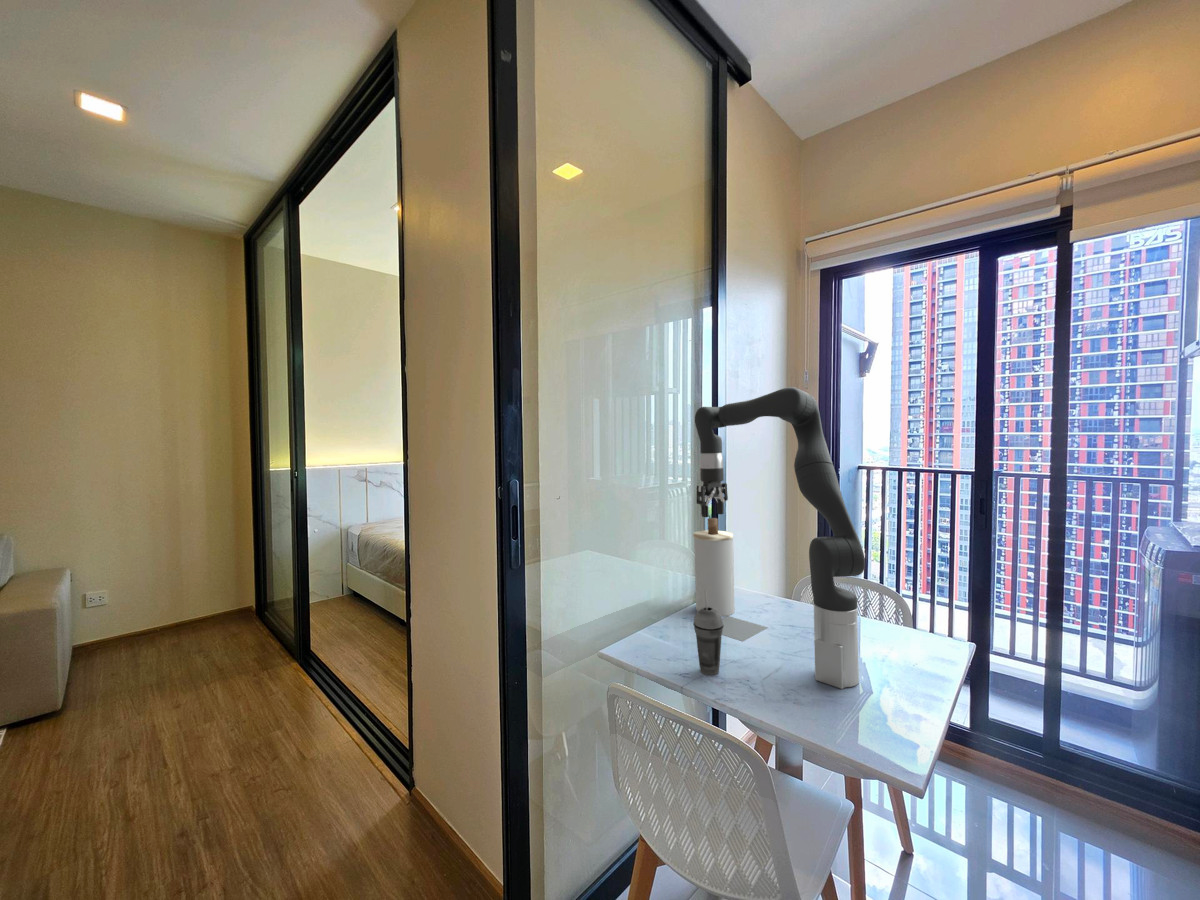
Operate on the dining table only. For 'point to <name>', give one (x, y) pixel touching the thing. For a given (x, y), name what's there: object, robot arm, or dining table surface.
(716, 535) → the lid
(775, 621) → the dining table surface
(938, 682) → the dining table surface
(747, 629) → the mat
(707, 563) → the cylinder vase
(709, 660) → the beverage cup
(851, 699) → the dining table surface
